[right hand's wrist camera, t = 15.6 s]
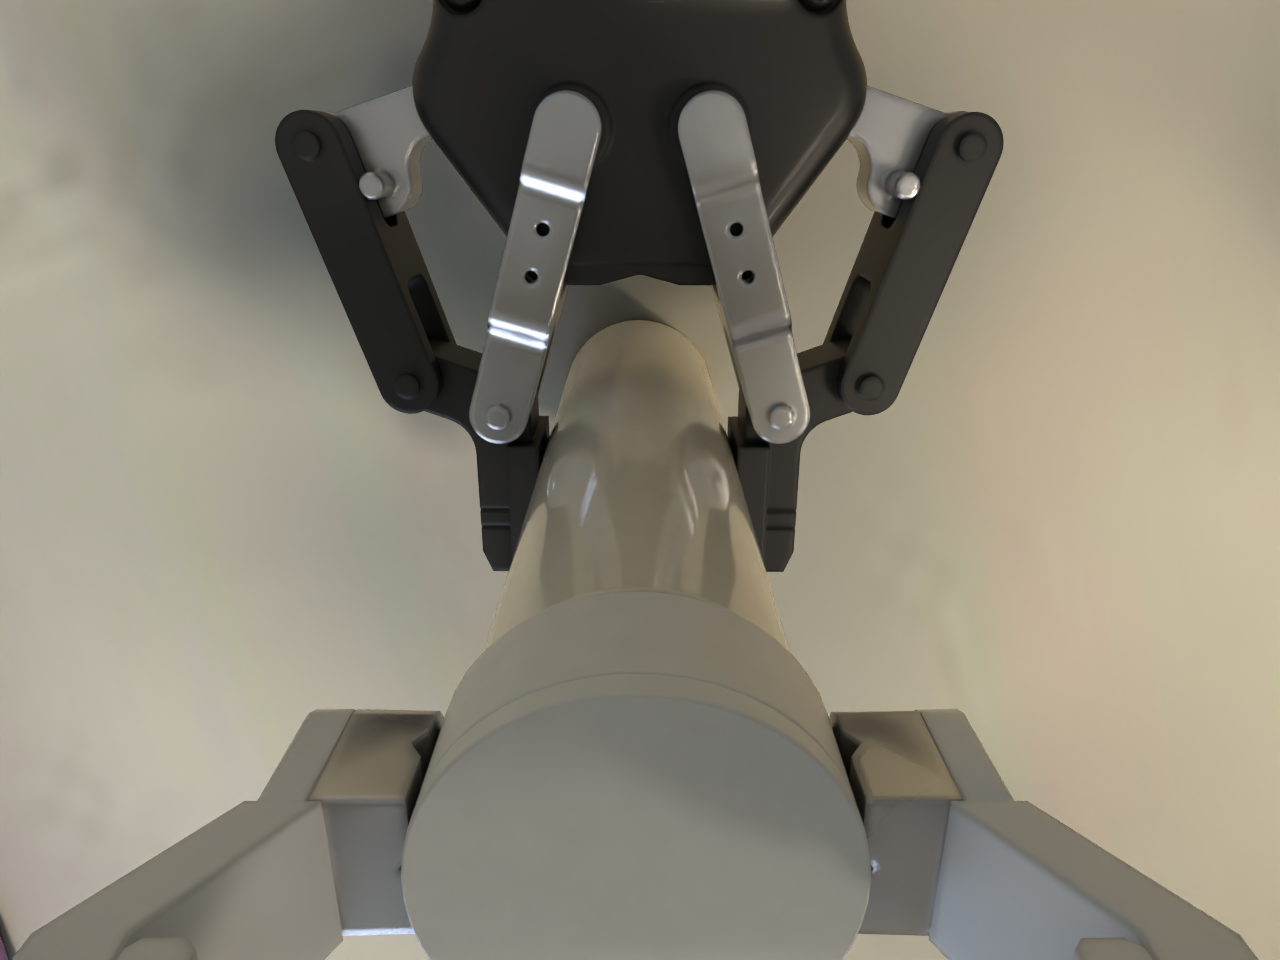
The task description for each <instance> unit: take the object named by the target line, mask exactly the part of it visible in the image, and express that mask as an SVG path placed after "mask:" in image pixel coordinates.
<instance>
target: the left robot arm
mask: <svg viewBox="0 0 1280 960" xmlns="http://www.w3.org/2000/svg"><path fill="white" fill-rule="evenodd" d="M432 139H433V140H434V141H435V142H436V144H437V145H438V146H439V147H440V149H441V150H442V151H443V153H444V154H445V155H446V157H447V158H448V159H449V161H450V162H451V163H452V165H453V166H454V167H455V169H456V170H457V171H458V173H459V174H460V175H461V177H462V178H463V179H464V181H465V182H466V183H467V185H468V186H469V187H470V189H471V190H472V191H473V193H474V194H475V195H476V196H477V198H478V199H479V200H480V202H481V203H482V204H483V206H484V207H485V208H486V210H487V211H488V212H489V214H490V215H491V216H492V218H493V219H494V220H495V222H496V223H497V224H498V226H499V227H500V228H501V230H502V231H503V232H504V234H505V235H506V236H507V240H506V244H505V248H504V253H503V257H502V261H501V265H500V270H499V274H498V278H497V282H496V287H495V291H494V295H493V299H492V304H491V308H490V313H489V318H488V332H487V337H486V342H485V346H484V350H483V354H481V353H479V352H476V351H473V350H470V349H467V348H464V347H462V346H459V345H457V344H456V342H455V339H454V337H453V334H452V331H451V329H450V326H449V324H448V321H447V319H446V316H445V314H444V311H443V308H442V306H441V303H440V301H439V298H438V296H437V293H436V290H435V288H434V285H433V283H432V280H431V278H430V275H429V273H428V270H427V267H426V265H425V262H424V260H423V257H422V255H421V252H420V250H419V247H418V244H417V242H416V239H415V237H414V234H413V232H412V229H411V226H410V224H409V221H408V219H407V216H406V214H405V211H407V210H409V209H411V208H412V207H413V206H414V205H415V204H416V203H417V202H418V200H419V199H420V196H421V193H422V188H423V181H422V176H421V172H420V157H421V153H422V151H423V149H424V147H425V146H426V144H427V143H428V142H429V141H430V140H432ZM846 139H848V140H849V141H850V142H851V143H852V144H853V145H854V147H855V148H856V150H857V153H858V156H859V161H860V169H859V174H858V178H857V192H858V196H859V198H860V200H861V201H862V203H863V204H864V205H865V206H866V207H867V208H869V209H870V210H872V211H874V215H873V218H872V220H871V223H870V225H869V228H868V230H867V233H866V235H865V238H864V241H863V243H862V246H861V248H860V251H859V253H858V256H857V258H856V261H855V264H854V266H853V269H852V271H851V274H850V276H849V279H848V281H847V284H846V287H845V289H844V292H843V294H842V297H841V299H840V302H839V305H838V307H837V310H836V312H835V315H834V317H833V320H832V322H831V325H830V328H829V330H828V333H827V335H826V338H825V340H824V343H823V345H820V346H818V347H815V348H812V349H809V350H806V351H803V352H801V353H798V354H797V353H796V349H795V344H794V340H793V336H792V329H791V327H792V323H791V316H790V311H789V307H788V302H787V298H786V294H785V289H784V285H783V281H782V277H781V272H780V268H779V264H778V260H777V255H776V251H775V247H774V243H773V238H772V237H773V235H774V234H775V233H776V231H777V230H778V229H779V228H780V226H781V225H782V224H783V222H784V221H785V220H786V218H787V217H788V216H789V214H790V213H791V212H792V210H793V209H794V208H795V206H796V205H797V204H798V202H799V201H800V200H801V198H802V197H803V196H804V194H805V193H806V192H807V190H808V189H809V188H810V187H811V185H812V184H813V183H814V181H815V180H816V179H817V177H818V176H819V175H820V173H821V172H822V171H823V169H824V168H825V167H826V165H827V164H828V163H829V161H830V160H831V159H832V157H833V156H834V155H835V153H836V152H837V151H838V149H839V148H840V147H841V146H842V144H843V143H844V142H845V140H846ZM275 145H276V150H277V153H278V156H279V158H280V160H281V163H282V165H283V167H284V170H285V172H286V174H287V177H288V179H289V181H290V184H291V186H292V188H293V191H294V193H295V195H296V198H297V200H298V202H299V204H300V207H301V209H302V211H303V214H304V216H305V218H306V221H307V223H308V225H309V228H310V230H311V232H312V235H313V237H314V239H315V242H316V244H317V246H318V249H319V251H320V253H321V256H322V258H323V260H324V263H325V265H326V267H327V270H328V272H329V274H330V276H331V279H332V281H333V283H334V286H335V288H336V290H337V293H338V295H339V297H340V300H341V302H342V304H343V307H344V309H345V311H346V314H347V316H348V318H349V321H350V323H351V325H352V328H353V330H354V332H355V335H356V337H357V339H358V342H359V344H360V346H361V348H362V351H363V353H364V355H365V358H366V360H367V362H368V365H369V367H370V369H371V372H372V374H373V376H374V379H375V381H376V383H377V386H378V388H379V390H380V393H381V395H382V397H383V398H384V400H385V401H386V402H387V403H388V404H389V405H390V406H391V407H392V408H394V409H396V410H398V411H400V412H403V413H409V414H412V413H419V412H422V411H426V412H429V413H432V414H435V415H438V416H441V417H444V418H447V419H450V420H452V421H454V422H456V423H458V424H460V425H461V426H462V427H463V428H465V430H466V431H467V432H468V433H469V434H470V436H471V437H472V439H473V441H474V444H475V447H476V453H477V467H478V481H479V496H480V508H481V525H482V539H483V551H484V553H485V555H486V557H487V559H488V561H489V563H490V565H491V567H492V569H493V571H509V569H510V566H511V562H512V559H513V556H514V552H515V549H516V546H517V542H518V539H519V536H520V533H521V529H522V526H523V523H524V519H525V516H526V513H527V509H528V506H529V503H530V500H531V496H532V493H533V490H534V486H535V483H536V480H537V476H538V473H539V470H540V467H541V463H542V460H543V457H544V453H545V450H546V447H547V443H548V440H549V416H539V409H538V395H539V392H540V388H541V384H542V381H543V377H544V373H545V369H546V365H547V362H548V358H549V354H550V350H551V347H552V343H553V339H554V335H555V331H556V328H557V324H558V321H559V317H560V314H561V311H562V307H563V304H564V300H565V296H566V293H567V289H568V285H601V284H605V283H609V282H612V281H616V280H620V279H623V278H627V277H631V276H634V275H645V276H649V277H652V278H656V279H660V280H663V281H667V282H671V283H674V284H678V285H711V287H712V291H713V295H714V298H715V302H716V306H717V309H718V313H719V316H720V319H721V323H722V326H723V330H724V333H725V337H726V341H727V345H728V349H729V352H730V356H731V360H732V364H733V368H734V371H735V375H736V379H737V383H738V387H739V406H738V417H728V441H729V445H730V448H731V452H732V455H733V458H734V462H735V465H736V469H737V472H738V476H739V479H740V483H741V486H742V489H743V493H744V496H745V500H746V503H747V507H748V510H749V513H750V517H751V520H752V524H753V527H754V531H755V534H756V538H757V541H758V544H759V548H760V551H761V555H762V558H763V562H764V565H765V568H766V572H783V571H784V569H785V567H786V565H787V563H788V561H789V559H790V557H791V555H792V553H793V550H794V535H795V521H796V506H797V491H798V477H799V462H800V451H801V446H802V443H803V441H804V439H805V437H806V436H807V435H808V433H809V432H810V431H811V430H812V429H813V428H814V427H816V426H817V425H818V424H820V423H822V422H824V421H827V420H829V419H832V418H835V417H838V416H841V415H844V414H847V413H850V412H853V411H854V412H855V413H858V414H862V415H874V414H878V413H880V412H882V411H884V410H886V409H887V408H889V407H890V406H891V405H892V404H893V402H894V401H895V399H896V398H897V396H898V394H899V391H900V389H901V387H902V384H903V382H904V380H905V377H906V375H907V373H908V370H909V368H910V366H911V363H912V361H913V359H914V356H915V354H916V352H917V349H918V347H919V345H920V342H921V340H922V338H923V335H924V333H925V331H926V329H927V326H928V324H929V322H930V319H931V317H932V315H933V312H934V310H935V308H936V305H937V303H938V301H939V298H940V296H941V294H942V291H943V289H944V287H945V284H946V282H947V280H948V277H949V275H950V273H951V271H952V268H953V266H954V264H955V261H956V259H957V257H958V254H959V252H960V250H961V247H962V245H963V243H964V240H965V238H966V236H967V233H968V231H969V229H970V226H971V224H972V222H973V219H974V217H975V215H976V212H977V210H978V208H979V206H980V203H981V201H982V199H983V196H984V194H985V192H986V189H987V187H988V185H989V182H990V180H991V178H992V175H993V173H994V171H995V168H996V166H997V164H998V161H999V159H1000V157H1001V154H1002V150H1003V134H1002V131H1001V129H1000V127H999V125H998V123H997V122H996V121H995V120H994V119H993V118H992V117H990V116H988V115H987V114H984V113H980V112H965V111H958V112H946V113H943V112H941V111H938V110H935V109H932V108H929V107H926V106H923V105H921V104H918V103H915V102H912V101H909V100H906V99H903V98H901V97H898V96H895V95H892V94H889V93H886V92H884V91H881V90H878V89H875V88H872V87H869V86H867V78H866V72H865V67H864V64H863V61H862V58H861V56H860V54H859V52H858V50H857V48H856V45H855V43H854V40H853V37H852V34H851V31H850V27H849V22H848V17H847V10H846V0H433V13H432V19H431V24H430V29H429V32H428V35H427V39H426V41H425V44H424V46H423V49H422V51H421V53H420V55H419V57H418V59H417V62H416V65H415V69H414V74H413V86H410V87H407V88H404V89H401V90H398V91H396V92H393V93H390V94H387V95H384V96H381V97H378V98H376V99H373V100H370V101H367V102H364V103H361V104H358V105H356V106H353V107H350V108H347V109H344V110H341V111H338V112H324V111H312V110H298V111H295V112H292V113H290V114H288V115H287V116H286V117H285V118H283V120H282V121H281V122H280V124H279V126H278V128H277V131H276V136H275Z"/></svg>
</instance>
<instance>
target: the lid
mask: <svg viewBox="0 0 1280 960" xmlns="http://www.w3.org/2000/svg"><path fill="white" fill-rule="evenodd" d="M401 882H402V890H403V898H404V903H405V907H406V910H407V913H408V917H409V920H410V924H411V926H412V928H413V930H414V933H415V935H416V937H417V939H418V941H419V943H420V945H421V947H422V948H423V950H424V951H425V953H426V954H427V956H428V957H429V959H430V960H843V958H844V957H845V955H846V954H847V952H848V951H849V949H850V948H851V946H852V944H853V942H854V940H855V938H856V936H857V934H858V932H859V930H860V927H861V925H862V921H863V918H864V915H865V912H866V908H867V905H868V900H869V893H870V885H871V855H870V850H869V845H868V841H867V836H866V831H865V828H864V825H863V822H862V819H861V816H860V813H859V810H858V807H857V803H856V800H855V797H854V794H853V791H852V788H851V785H850V782H849V779H848V776H847V773H846V770H845V766H844V763H843V760H842V757H841V754H840V751H839V748H838V745H837V742H836V739H835V736H834V733H833V730H832V727H831V723H830V720H829V717H828V714H827V712H826V709H825V707H824V704H823V702H822V699H821V696H820V694H819V692H818V690H817V689H816V687H815V685H814V683H813V682H812V680H811V678H810V677H809V675H808V673H807V672H806V671H805V670H804V668H803V667H802V666H801V665H800V663H799V662H798V661H797V660H796V658H795V657H794V656H793V655H792V654H791V653H790V652H789V651H788V650H787V649H786V648H785V647H784V646H782V645H781V644H780V643H779V642H778V641H777V640H776V639H775V638H774V637H772V636H771V635H769V634H768V633H766V632H765V631H764V630H762V629H761V628H759V627H758V626H757V625H755V624H754V623H752V622H750V621H748V620H746V619H744V618H742V617H740V616H738V615H737V614H735V613H733V612H731V611H729V610H726V609H723V608H721V607H718V606H715V605H713V604H710V603H707V602H704V601H700V600H696V599H692V598H688V597H684V596H680V595H673V594H664V593H656V592H618V593H609V594H600V595H594V596H590V597H585V598H581V599H577V600H572V601H569V602H566V603H563V604H561V605H558V606H555V607H552V608H550V609H547V610H545V611H543V612H541V613H539V614H537V615H535V616H533V617H531V618H529V619H527V620H525V621H523V622H521V623H520V624H518V625H517V626H515V627H514V628H512V629H511V630H510V631H508V632H507V633H505V634H504V635H502V636H501V637H500V638H498V639H497V640H496V641H495V642H494V643H493V644H492V645H491V646H490V647H489V648H487V649H486V650H485V651H484V652H483V653H482V654H481V655H480V656H479V658H478V659H477V660H476V661H475V663H474V664H473V665H472V666H471V667H470V669H469V670H468V671H467V672H466V674H465V676H464V677H463V679H462V681H461V682H460V684H459V686H458V687H457V689H456V691H455V693H454V695H453V698H452V700H451V702H450V705H449V707H448V710H447V712H446V715H445V718H444V721H443V724H442V727H441V730H440V733H439V736H438V739H437V742H436V745H435V748H434V751H433V754H432V757H431V760H430V763H429V766H428V769H427V772H426V775H425V778H424V781H423V784H422V787H421V790H420V793H419V796H418V799H417V802H416V805H415V808H414V810H413V813H412V816H411V819H410V822H409V825H408V828H407V833H406V837H405V842H404V846H403V850H402V863H401Z"/></svg>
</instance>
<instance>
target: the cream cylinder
mask: <svg viewBox="0 0 1280 960" xmlns="http://www.w3.org/2000/svg"><path fill="white" fill-rule="evenodd" d="M618 592H656V593H664V594H673V595H680V596H684V597H688V598H692V599H696V600H700V601H704V602H707V603H710V604H713V605H715V606H718V607H721V608H723V609H726V610H729V611H731V612H733V613H735V614H737V615H738V616H740V617H742V618H744V619H746V620H748V621H750V622H752V623H754V624H755V625H757V626H758V627H759V628H761V629H762V630H764V631H765V632H766V633H768V634H769V635H771V636H772V637H774V638H775V639H776V640H777V641H778V642H779V643H780V644H781V645H782V646H784V647H785V648H786V649H787V650H788V651H789V648H788V644H787V641H786V637H785V634H784V630H783V627H782V623H781V620H780V617H779V613H778V610H777V606H776V603H775V599H774V596H773V593H772V589H771V586H770V582H769V579H768V575H767V572H766V568H765V565H764V562H763V558H762V555H761V551H760V548H759V544H758V541H757V538H756V534H755V531H754V527H753V524H752V520H751V517H750V513H749V510H748V507H747V503H746V500H745V496H744V493H743V489H742V486H741V483H740V479H739V476H738V472H737V469H736V465H735V462H734V458H733V455H732V452H731V448H730V445H729V441H728V438H727V434H726V431H725V428H724V424H723V421H722V417H721V414H720V410H719V407H718V403H717V400H716V397H715V393H714V390H713V386H712V383H711V379H710V376H709V373H708V369H707V366H706V364H705V362H704V359H703V357H702V356H701V354H700V352H699V351H698V350H697V348H696V347H695V346H694V345H693V343H692V342H691V341H690V340H688V339H687V338H686V337H685V336H684V335H682V334H681V333H680V332H678V331H677V330H675V329H673V328H671V327H669V326H666V325H664V324H661V323H657V322H653V321H646V320H631V321H625V322H620V323H617V324H613V325H611V326H609V327H607V328H604V329H603V330H601V331H599V332H598V333H596V334H595V335H594V336H593V337H591V338H590V339H589V340H588V341H587V342H586V343H585V344H584V345H583V346H582V348H581V349H580V350H579V352H578V353H577V355H576V357H575V359H574V361H573V363H572V365H571V368H570V371H569V374H568V377H567V381H566V384H565V387H564V391H563V394H562V397H561V400H560V404H559V407H558V410H557V414H556V417H555V420H554V424H553V427H552V430H551V434H550V437H549V440H548V443H547V447H546V450H545V453H544V457H543V460H542V463H541V467H540V470H539V473H538V476H537V480H536V483H535V486H534V490H533V493H532V496H531V500H530V503H529V506H528V509H527V513H526V516H525V519H524V523H523V526H522V529H521V533H520V536H519V539H518V542H517V546H516V549H515V552H514V556H513V559H512V562H511V566H510V569H509V572H508V575H507V579H506V582H505V585H504V589H503V592H502V595H501V599H500V602H499V605H498V608H497V612H496V615H495V618H494V622H493V625H492V628H491V632H490V635H489V638H488V641H487V645H486V648H485V650H486V649H487V648H489V647H490V646H491V645H492V644H493V643H494V642H495V641H496V640H497V639H498V638H500V637H501V636H502V635H504V634H505V633H507V632H508V631H510V630H511V629H512V628H514V627H515V626H517V625H518V624H520V623H521V622H523V621H525V620H527V619H529V618H531V617H533V616H535V615H537V614H539V613H541V612H543V611H545V610H547V609H550V608H552V607H555V606H558V605H561V604H563V603H566V602H569V601H572V600H577V599H581V598H585V597H590V596H594V595H600V594H609V593H618ZM789 652H790V651H789Z"/></svg>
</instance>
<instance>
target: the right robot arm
mask: <svg viewBox="0 0 1280 960" xmlns="http://www.w3.org/2000/svg"><path fill="white" fill-rule="evenodd" d="M829 720H830V723H831V727H832V730H833V733H834V736H835V739H836V742H837V745H838V748H839V751H840V754H841V757H842V760H843V763H844V766H845V770H846V773H847V776H848V779H849V782H850V785H851V788H852V791H853V794H854V797H855V800H856V803H857V807H858V810H859V813H860V816H861V819H862V822H863V825H864V828H865V831H866V836H867V841H868V845H869V850H870V855H871V885H870V893H869V900H868V905H867V908H866V912H865V915H864V918H863V921H862V925H861V927H860V930H859V932H858V934H889V935H924V936H929V940H930V941H931V942H932V943H933V944H934V945H935V946H936V947H937V948H938V949H939V950H940V951H941V952H942V953H943V955H944V956H945V957H946V958H947V959H948V960H1258V959H1257V957H1256V956H1255V955H1254V953H1253V952H1252V951H1251V949H1250V948H1249V947H1248V945H1247V944H1246V943H1245V941H1244V940H1243V939H1242V937H1241V936H1240V935H1239V934H1237V933H1236V932H1234V931H1233V930H1231V929H1229V928H1228V927H1226V926H1225V925H1223V924H1222V923H1220V922H1218V921H1217V920H1215V919H1214V918H1212V917H1210V916H1209V915H1207V914H1206V913H1204V912H1202V911H1201V910H1199V909H1198V908H1196V907H1195V906H1193V905H1191V904H1190V903H1188V902H1187V901H1185V900H1183V899H1182V898H1180V897H1179V896H1177V895H1175V894H1174V893H1172V892H1171V891H1169V890H1168V889H1166V888H1164V887H1163V886H1161V885H1160V884H1158V883H1156V882H1155V881H1153V880H1152V879H1150V878H1148V877H1147V876H1145V875H1144V874H1142V873H1141V872H1139V871H1137V870H1136V869H1134V868H1133V867H1131V866H1129V865H1128V864H1126V863H1125V862H1123V861H1121V860H1120V859H1118V858H1117V857H1115V856H1114V855H1112V854H1110V853H1109V852H1107V851H1106V850H1104V849H1102V848H1101V847H1099V846H1098V845H1096V844H1094V843H1093V842H1091V841H1090V840H1088V839H1087V838H1085V837H1083V836H1082V835H1080V834H1079V833H1077V832H1075V831H1074V830H1072V829H1071V828H1069V827H1067V826H1066V825H1064V824H1063V823H1061V822H1060V821H1058V820H1056V819H1055V818H1053V817H1052V816H1050V815H1048V814H1047V813H1045V812H1044V811H1042V810H1040V809H1039V808H1037V807H1036V806H1034V805H1033V804H1031V803H1029V802H1028V801H1014V799H1013V798H1012V796H1011V794H1010V793H1009V791H1008V789H1007V787H1006V786H1005V784H1004V782H1003V780H1002V779H1001V777H1000V775H999V773H998V772H997V770H996V768H995V767H994V765H993V763H992V761H991V760H990V758H989V756H988V754H987V753H986V751H985V749H984V747H983V746H982V744H981V742H980V741H979V739H978V737H977V735H976V734H975V732H974V730H973V728H972V727H971V725H970V723H969V721H968V720H967V718H966V716H965V715H964V713H963V712H961V711H960V710H958V709H930V710H915V711H881V712H831V714H830V718H829ZM443 721H444V717H443V715H442V713H441V712H440V711H413V710H367V709H359V710H354V709H316V710H315V711H313V712H311V713H309V714H308V715H307V717H306V718H305V720H304V722H303V723H302V725H301V727H300V729H299V730H298V732H297V734H296V735H295V737H294V739H293V741H292V742H291V744H290V746H289V747H288V749H287V751H286V753H285V754H284V756H283V758H282V759H281V761H280V763H279V765H278V766H277V768H276V770H275V771H274V773H273V775H272V777H271V778H270V780H269V782H268V783H267V785H266V787H265V789H264V790H263V792H262V794H261V795H260V797H259V799H258V801H244V802H242V803H241V804H239V805H237V806H236V807H234V808H233V809H231V810H229V811H228V812H226V813H225V814H223V815H221V816H220V817H218V818H216V819H215V820H213V821H212V822H210V823H208V824H207V825H205V826H204V827H202V828H200V829H199V830H197V831H196V832H194V833H192V834H191V835H189V836H188V837H186V838H184V839H183V840H181V841H180V842H178V843H176V844H175V845H173V846H171V847H170V848H168V849H167V850H165V851H163V852H162V853H160V854H159V855H157V856H155V857H154V858H152V859H151V860H149V861H147V862H146V863H144V864H143V865H141V866H139V867H138V868H136V869H134V870H133V871H131V872H130V873H128V874H126V875H125V876H123V877H122V878H120V879H118V880H117V881H115V882H114V883H112V884H110V885H109V886H107V887H106V888H104V889H102V890H101V891H99V892H98V893H96V894H94V895H93V896H91V897H89V898H88V899H86V900H85V901H83V902H81V903H80V904H78V905H77V906H75V907H73V908H72V909H70V910H69V911H67V912H65V913H64V914H62V915H61V916H59V917H57V918H56V919H54V920H53V921H51V922H49V923H48V924H46V925H44V926H43V927H41V928H40V929H38V930H36V931H35V932H33V933H32V934H31V935H30V936H29V938H28V939H27V940H26V941H25V943H24V944H23V945H22V947H21V948H20V949H19V951H18V952H17V953H16V954H15V956H14V957H13V958H12V960H324V959H325V958H326V957H327V956H328V955H329V954H330V953H331V952H332V951H333V950H334V949H335V948H336V947H337V946H338V945H339V944H340V943H341V942H342V941H343V937H342V936H348V935H382V934H415V933H414V930H413V928H412V926H411V924H410V920H409V917H408V913H407V910H406V907H405V903H404V898H403V890H402V882H401V863H402V850H403V846H404V842H405V837H406V833H407V828H408V825H409V822H410V819H411V816H412V813H413V810H414V808H415V805H416V802H417V799H418V796H419V793H420V790H421V787H422V784H423V781H424V778H425V775H426V772H427V769H428V766H429V763H430V760H431V757H432V754H433V751H434V748H435V745H436V742H437V739H438V736H439V733H440V730H441V727H442V724H443Z"/></svg>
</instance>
